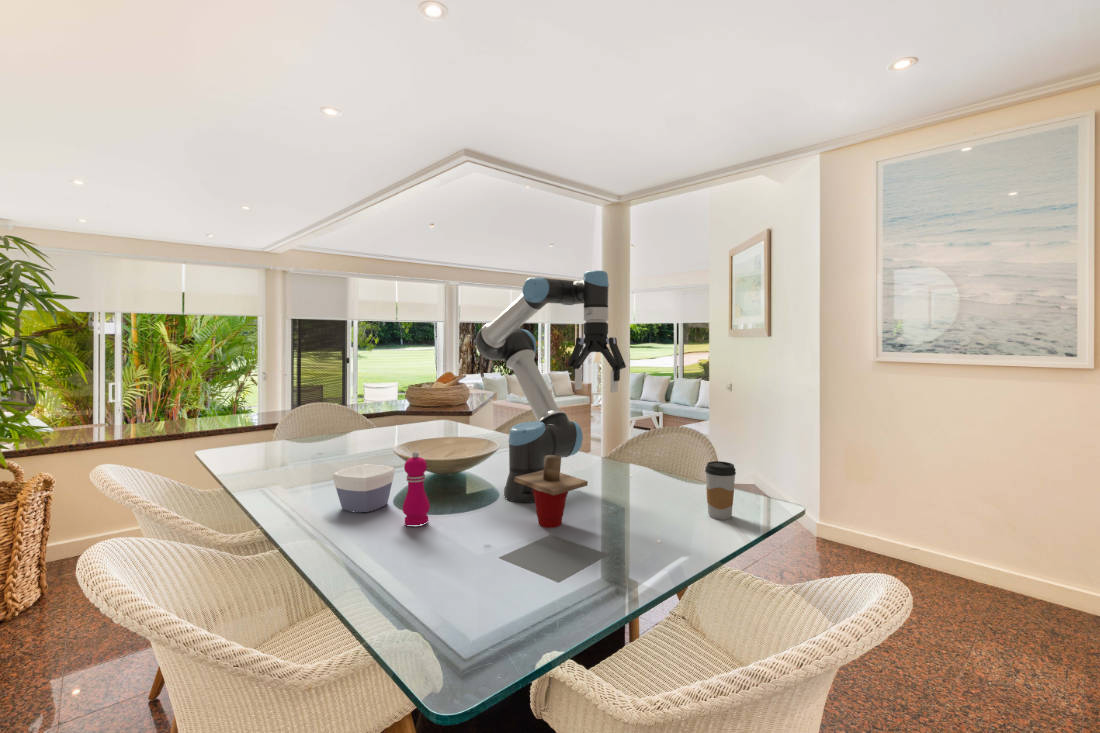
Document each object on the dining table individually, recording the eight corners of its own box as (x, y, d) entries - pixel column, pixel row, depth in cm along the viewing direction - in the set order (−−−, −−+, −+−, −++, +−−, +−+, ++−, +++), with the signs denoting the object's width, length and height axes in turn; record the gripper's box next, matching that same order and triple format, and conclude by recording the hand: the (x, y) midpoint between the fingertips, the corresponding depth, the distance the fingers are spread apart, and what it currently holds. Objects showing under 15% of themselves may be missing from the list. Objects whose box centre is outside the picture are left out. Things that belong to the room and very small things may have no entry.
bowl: (326, 511, 150) (325, 474, 149) (363, 496, 164) (362, 462, 163) (367, 518, 144) (366, 479, 143) (402, 502, 158) (401, 467, 158)
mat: (498, 561, 115) (498, 557, 115) (550, 538, 129) (550, 534, 129) (558, 587, 103) (558, 582, 103) (608, 558, 117) (608, 554, 117)
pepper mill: (435, 521, 142) (434, 450, 140) (418, 529, 135) (417, 455, 134) (414, 517, 145) (413, 447, 143) (397, 525, 138) (395, 453, 137)
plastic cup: (567, 536, 130) (567, 490, 130) (526, 533, 132) (526, 488, 132) (573, 521, 141) (573, 479, 140) (535, 518, 143) (535, 477, 142)
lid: (514, 481, 135) (516, 454, 135) (548, 473, 146) (550, 448, 145) (553, 495, 126) (556, 467, 126) (587, 485, 137) (589, 459, 136)
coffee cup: (734, 512, 147) (735, 462, 147) (735, 522, 140) (736, 469, 139) (705, 509, 150) (705, 459, 149) (703, 519, 142) (704, 466, 141)
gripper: (557, 322, 161) (557, 388, 162) (623, 320, 145) (623, 394, 146) (571, 323, 167) (571, 387, 168) (637, 321, 150) (637, 392, 151)
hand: (595, 390), depth 157 cm, fingers open, 13 cm apart
